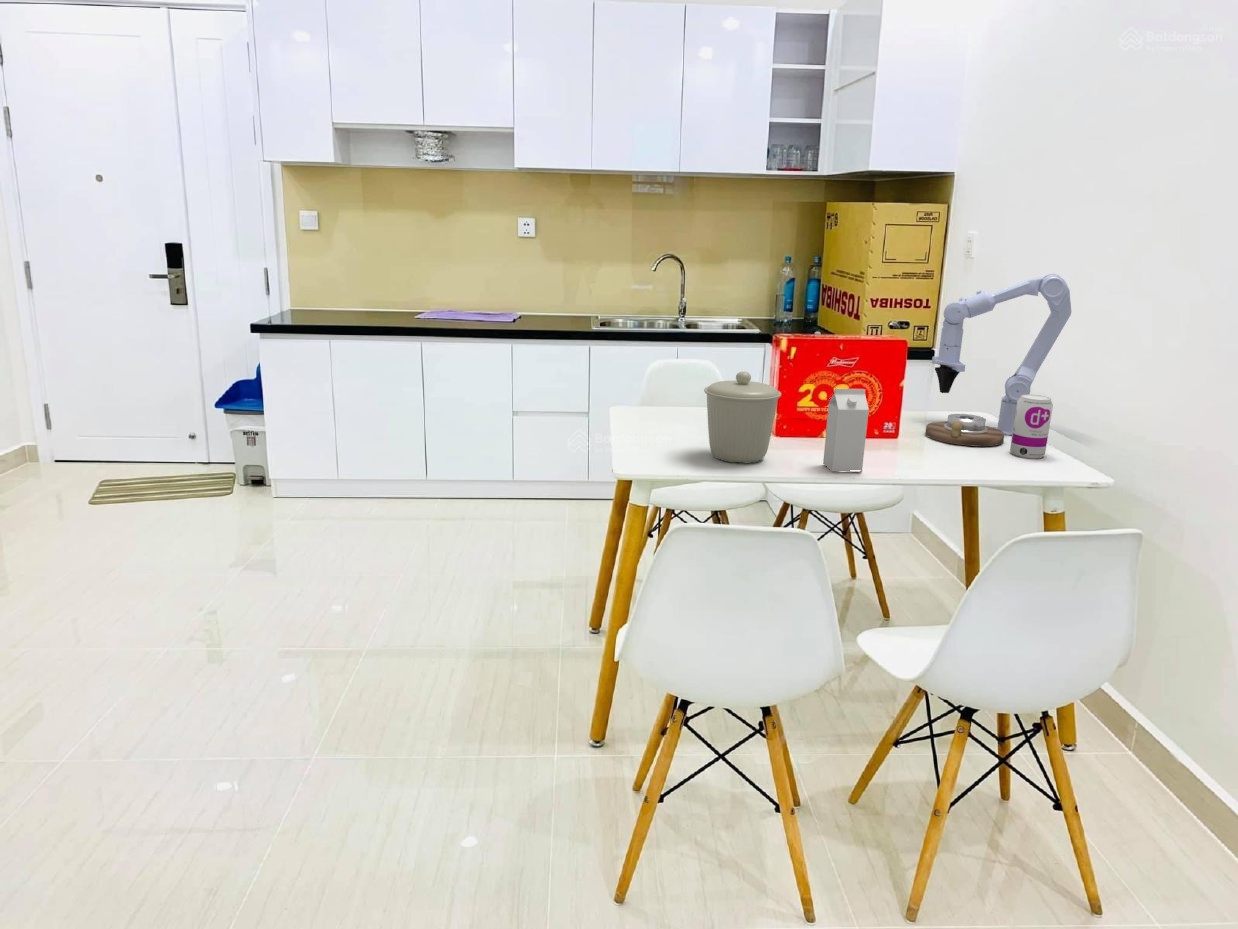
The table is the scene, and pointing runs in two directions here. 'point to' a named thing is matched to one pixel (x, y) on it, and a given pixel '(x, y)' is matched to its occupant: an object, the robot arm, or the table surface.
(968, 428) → the cover
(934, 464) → the table surface
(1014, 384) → the robot arm
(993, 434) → the turntable
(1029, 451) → the supplement can
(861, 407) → the milk carton
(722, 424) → the canister
